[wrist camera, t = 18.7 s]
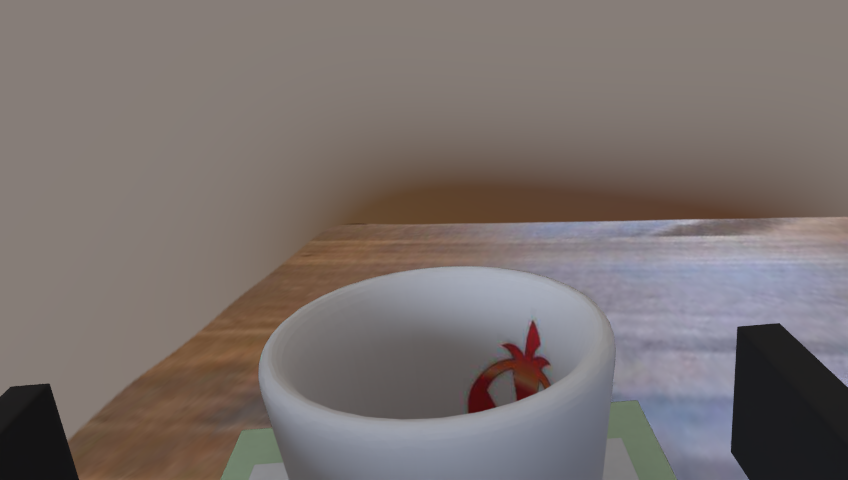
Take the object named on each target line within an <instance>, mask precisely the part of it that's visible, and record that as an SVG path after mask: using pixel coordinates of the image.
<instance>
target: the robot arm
mask: <svg viewBox="0 0 848 480" xmlns="http://www.w3.org/2000/svg"><path fill="white" fill-rule="evenodd" d="M731 453H732V454H733V456H734V457H735V459H736V460H737V462H738V463H739V465H740V466H741V468H742V469H743V471H744V472H745V474H746V475H747V477H748V479H749V480H848V387H847V386H846V385H845V384H843V383H842V382H841V381H840V380H839V379H838V378H837V377H836V376H835V375H834V374H833V373H832V372H831V371H830V370H829V369H827V368H826V367H825V366H824V365H823V364H822V363H821V362H820V361H819V360H818V359H817V358H816V357H815V356H814V355H813V354H812V353H810V352H809V351H808V350H807V349H806V348H805V347H804V346H803V345H802V344H801V343H800V342H799V341H798V340H797V339H796V338H794V337H793V336H792V335H791V334H790V333H789V332H788V331H787V330H786V329H785V328H784V327H783V326H782V325H781V324H780V323H777V324H765V325H753V326H740V327H737V346H736V365H735V384H734V403H733V422H732V440H731ZM0 480H79V478H78V475H77V472H76V468H75V465H74V462H73V459H72V455H71V452H70V449H69V446H68V442H67V439H66V436H65V433H64V429H63V426H62V423H61V420H60V416H59V413H58V410H57V406H56V403H55V400H54V397H53V393H52V390H51V387H50V384H38V385H26V386H14V387H10V388H9V389H8V390H7V391H6V392H5V393H4V394H3V395H2V396H1V397H0Z"/></svg>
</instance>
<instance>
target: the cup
mask: <svg viewBox="0 0 848 480" xmlns="http://www.w3.org/2000/svg"><path fill="white" fill-rule="evenodd" d="M615 356H616V348H615V339H614V333H613V330H612V328H611V325H610V323H609V321H608V319H607V317H606V316H605V314H604V313H603V311H602V310H601V309H600V308H599V307H598V306H597V305H596V304H595V303H594V302H593V301H592V300H591V299H590V298H588V297H587V296H585V295H584V294H583V293H581V292H579V291H578V290H576V289H574V288H572V287H570V286H568V285H566V284H564V283H561V282H558V281H556V280H553V279H551V278H548V277H544V276H540V275H536V274H532V273H528V272H525V271H518V270H511V269H504V268H495V267H479V266H450V267H436V268H424V269H416V270H410V271H403V272H397V273H392V274H387V275H383V276H379V277H375V278H370V279H367V280H364V281H360V282H357V283H354V284H351V285H348V286H345V287H342V288H340V289H338V290H335V291H333V292H331V293H328V294H326V295H324V296H321V297H319V298H318V299H316V300H314V301H312V302H311V303H309V304H307V305H305V306H303V307H302V308H300V309H299V310H298V311H296V312H295V313H294V314H292V315H291V316H290V317H289V318H287V319H286V320H285V321H284V322H282V323H281V325H280V326H279V327H278V328H277V329H276V330H275V331H274V332H273V334H272V335H271V336H270V338H269V340H268V341H267V343H266V345H265V347H264V349H263V351H262V354H261V358H260V362H259V384H260V390H261V394H262V397H263V401H264V404H265V407H266V410H267V413H268V416H269V419H270V422H271V426H272V429H273V432H274V435H275V438H276V441H277V444H278V447H279V450H280V454H281V457H282V460H283V463H284V466H285V469H286V472H287V475H288V479H289V480H603V471H604V461H605V452H606V442H607V433H608V424H609V414H610V405H611V396H612V386H613V377H614V367H615Z"/></svg>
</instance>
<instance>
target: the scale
mask: <svg viewBox="0 0 848 480" xmlns="http://www.w3.org/2000/svg"><path fill="white" fill-rule="evenodd" d="M220 480H289V479H288V475H287V472H286V469H285V466H284V463H283V460H282V457H281V454H280V450H279V447H278V444H277V441H276V438H275V435H274V432H273V429H272V428H264V429H251V430H243V431H242V432H241V434H240V436H239V439H238V441H237V443H236V445H235V448H234V450H233V452H232V454H231V457H230V459H229V461H228V464H227V466H226V468H225V470H224V473H223V475H222V477H221V479H220ZM603 480H677V479H676V477H675V475H674V473H673V471H672V469H671V467H670V465H669V463H668V461H667V459H666V457H665V455H664V453H663V451H662V449H661V447H660V445H659V443H658V441H657V439H656V437H655V435H654V433H653V431H652V429H651V427H650V425H649V423H648V421H647V419H646V417H645V415H644V413H643V411H642V409H641V407H640V405H639V403H638V401H636V400H635V401H622V402H611V405H610V414H609V424H608V433H607V442H606V452H605V461H604V471H603Z"/></svg>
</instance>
